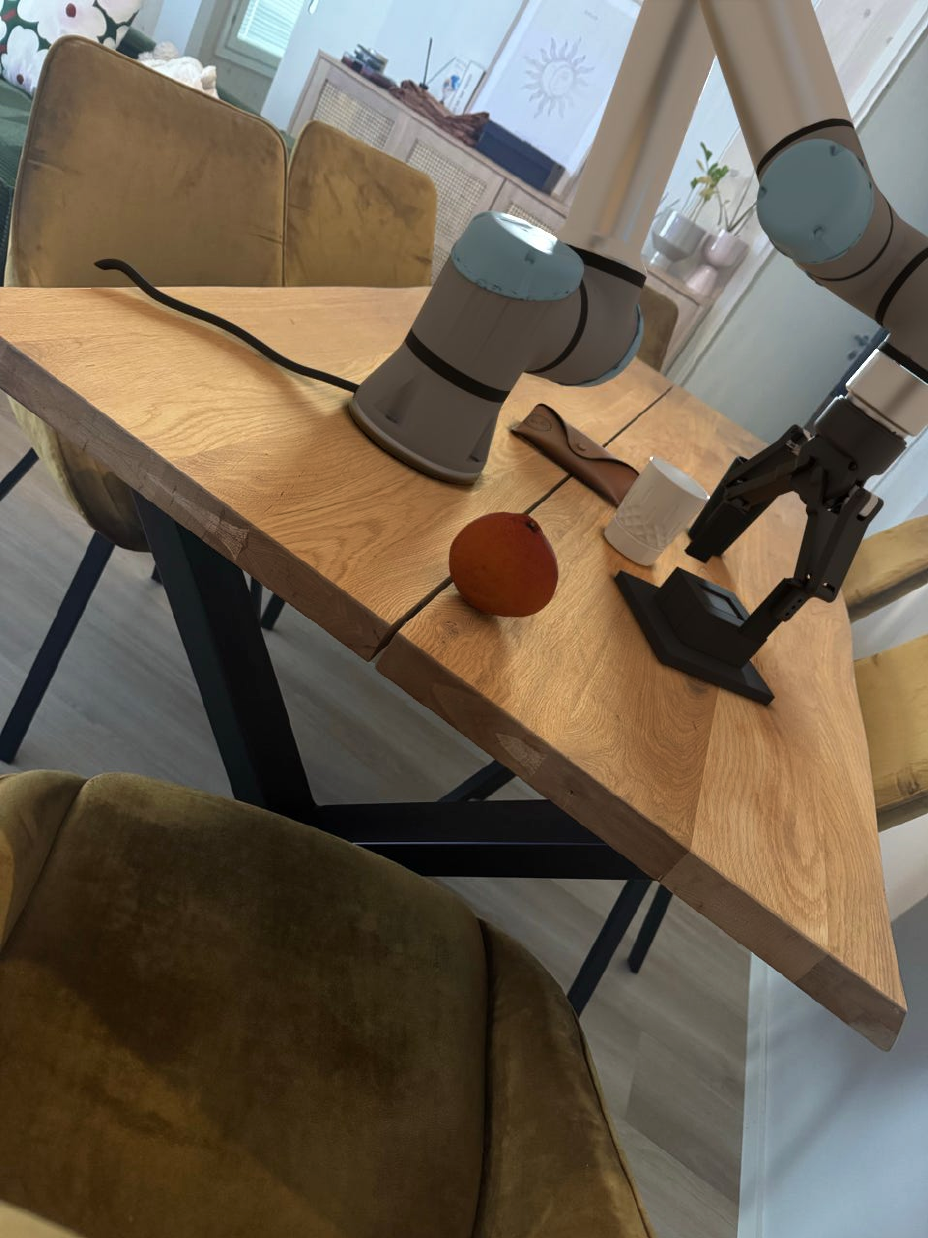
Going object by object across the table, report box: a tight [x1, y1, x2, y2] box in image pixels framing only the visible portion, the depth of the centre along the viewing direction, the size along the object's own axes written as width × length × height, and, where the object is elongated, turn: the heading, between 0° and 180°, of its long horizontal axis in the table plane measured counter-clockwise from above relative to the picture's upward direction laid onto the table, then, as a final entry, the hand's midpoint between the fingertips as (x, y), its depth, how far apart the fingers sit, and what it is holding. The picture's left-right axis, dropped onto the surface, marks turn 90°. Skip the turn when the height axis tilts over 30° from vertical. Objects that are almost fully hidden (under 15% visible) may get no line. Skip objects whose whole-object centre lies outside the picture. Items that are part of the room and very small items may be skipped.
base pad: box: [613, 569, 776, 706], centre depth 91 cm, size 14×14×5 cm
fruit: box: [448, 511, 560, 618], centre depth 71 cm, size 9×9×8 cm
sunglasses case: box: [510, 402, 641, 507], centre depth 119 cm, size 18×7×7 cm
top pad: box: [653, 566, 768, 669], centre depth 90 cm, size 8×8×4 cm
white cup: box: [603, 456, 710, 567], centre depth 103 cm, size 8×8×10 cm
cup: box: [687, 455, 778, 557], centre depth 123 cm, size 8×8×12 cm
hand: (719, 595), depth 90 cm, fingers open, 13 cm apart
